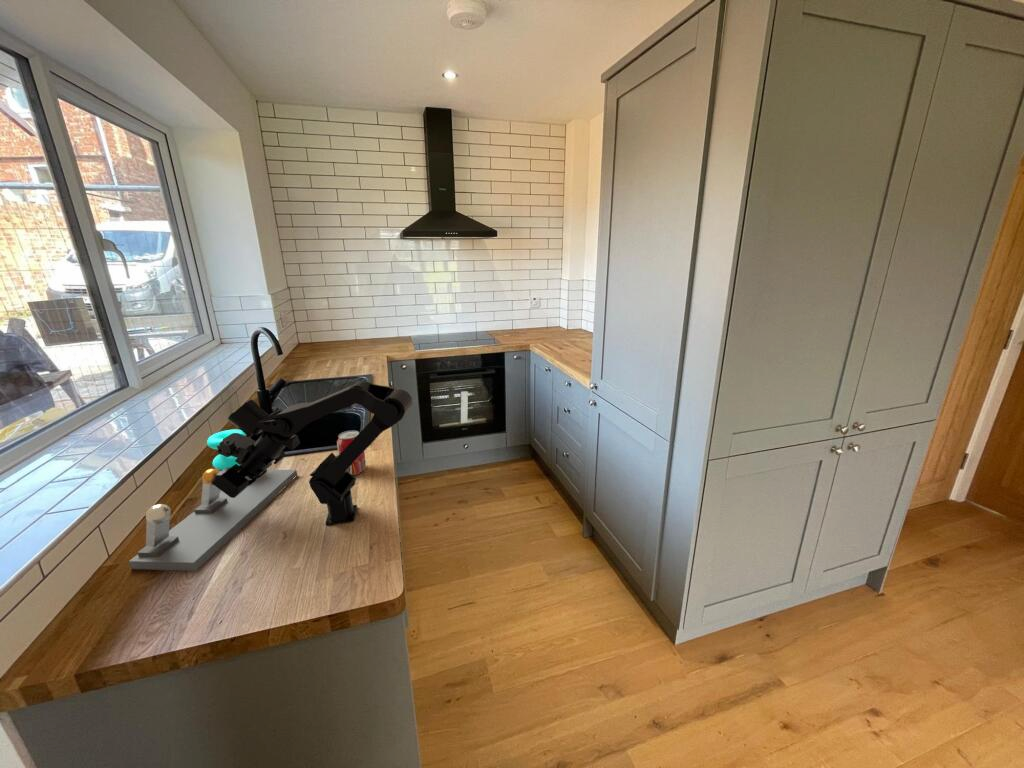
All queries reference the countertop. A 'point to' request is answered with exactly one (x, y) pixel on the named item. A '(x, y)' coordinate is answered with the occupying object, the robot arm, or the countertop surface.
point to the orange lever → (209, 487)
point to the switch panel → (211, 526)
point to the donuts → (213, 442)
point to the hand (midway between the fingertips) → (233, 487)
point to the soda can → (343, 442)
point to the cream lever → (157, 524)
